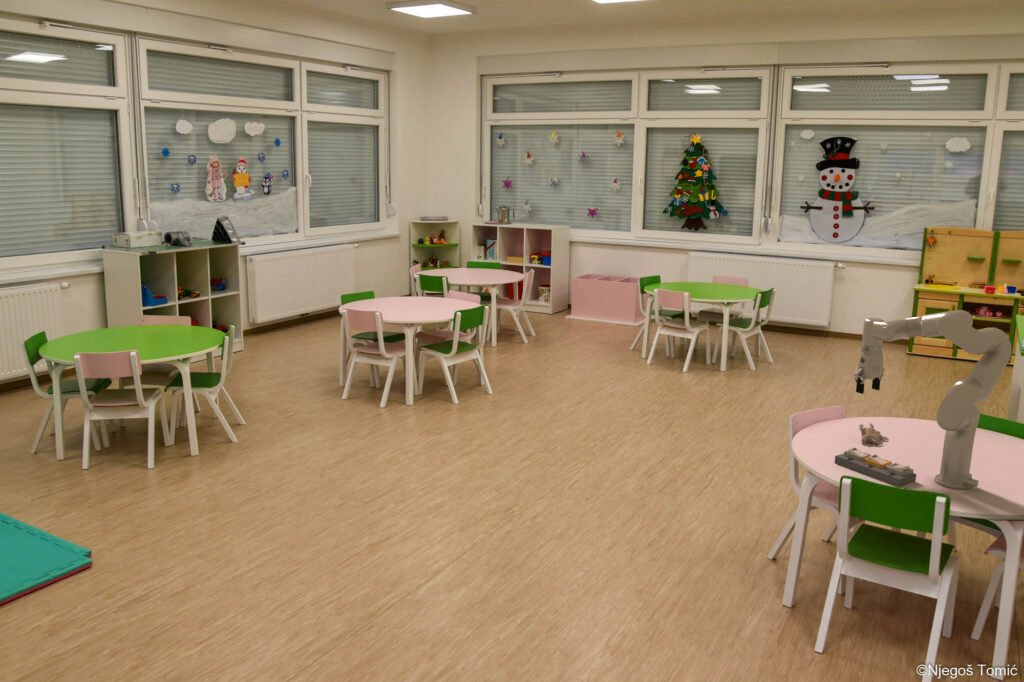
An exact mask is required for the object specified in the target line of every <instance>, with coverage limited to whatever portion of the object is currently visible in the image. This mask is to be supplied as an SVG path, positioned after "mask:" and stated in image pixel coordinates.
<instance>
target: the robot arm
mask: <svg viewBox="0 0 1024 682" xmlns="http://www.w3.org/2000/svg"><path fill="white" fill-rule="evenodd" d="M973 323H974V318H973V315H971V313H969V311H967V310H963V309H955V310H948V311H941V312H936V313H929V314H923V315H921V316H920V315H919V316H916V317H915V316H914V317H908V318H901V319H894V320H890V321H884V319H882V318H876V317H868V318H865V319H864V321H863V330H862V340H861V350H860V351H861V352H860V355H859V359H858V365H857V370H856V371H855V372H854V373H853V376H854V377H853V378H854V380H855V383H856V388H855V393H856V394H857V393H858V394H864V392H865V382H866V380H872V381H871V389H872V390H874V391H880V388H881V381H882V378H883V376H884V372H885V368H884V354H883V344H884V342H893V341H897V340H901V339H903V340H904V339H908V338H915V337H924V336H925V337H926V338H934V337H935V338H936V337H940V336H941V337H942V336H943V337H944V338H946V340H948V341H949V342H951V343H953V344H954V345H956V346H957V347H959V348H961V350H963V351H964V352H966V353H968V354H970V355H974V356H981V355H982V356H981V357H980V358H979V360H977V362H976V363H975V365H974V367H973V369H972V370H971V373H970V374H969V375H968V376H967V377H966V378H964V379H961V380H959V381H956V382H955V383H954V384H953V385H952V386H951V387H950V388H949V390H948V391H947V393H946V395H945V396H944V399H943V400H942V402H941V403H940V405H939V407H938V409H937V412H936V416H935V420H936V423H937V425H938V427H940V428H941V429H942V430H944V431H945V434H944V441H943V447H942V455H941V461H940V470H939V473H938V474H936V475H935V476H934V481H935V482H936V483H937V484H938V485H940V486H942V487H943V486H944V487H946V488H949V489H954V490H957V489H958V490H968V489H971V488H972V487H974V488H977V487H978V486H979V480H977V479H974V478H973V474H972V473H971V472H970V471H971V464H972V457H973V449H974V442H975V437H976V433H977V428H978V425H979V423H980V418H981V415H980V414H981V413H980V409H979V407H978V406H977V404H980V403H982V402H984V401H986V400H987V399H988V398H989V397H990V395H991V393H992V391H993V389H994V388H995V386H996V384H997V383H998V381H999V379H1000V378H1001V375H1002V374H1003V373H1004V370H1005V369H1006V367H1007V365H1008V363H1009V361H1010V359H1011V356H1012V344H1011V340H1010V339H1009V336H1008V335H1007V333H1005V332H1004V331H1003V330H1002V329H999V328H997V327H985V328H981V329H976V328H974V327H973Z"/></svg>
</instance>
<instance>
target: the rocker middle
mask: <svg viewBox="0 0 1024 682" xmlns="http://www.w3.org/2000/svg"><path fill="white" fill-rule="evenodd" d="M869 459H870V460H872V461H875V462H877V463H880V464H883V463H886V462H887V461H885V460H886V459H885V460H884V458H883V457H881V456H879V455H877V454H871V456H869Z"/></svg>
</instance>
